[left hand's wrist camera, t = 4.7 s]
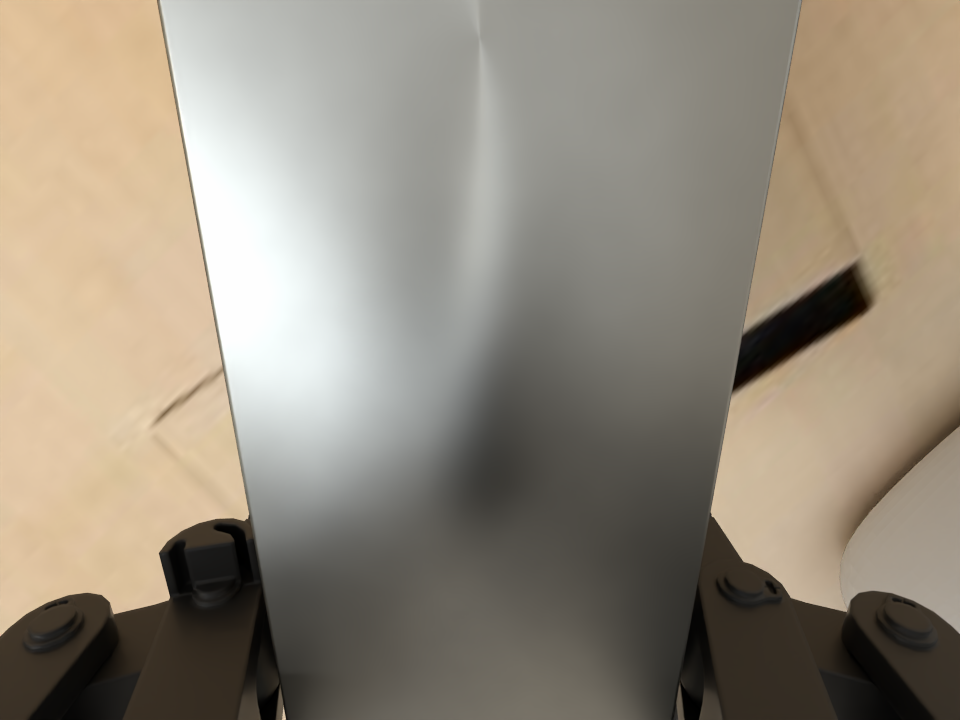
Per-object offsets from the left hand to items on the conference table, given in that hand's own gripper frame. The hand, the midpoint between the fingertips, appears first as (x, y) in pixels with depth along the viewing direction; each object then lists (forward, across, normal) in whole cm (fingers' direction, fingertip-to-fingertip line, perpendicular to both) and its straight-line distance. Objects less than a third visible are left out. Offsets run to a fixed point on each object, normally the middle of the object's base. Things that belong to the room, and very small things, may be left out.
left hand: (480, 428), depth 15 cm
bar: (+1, 0, -8) cm, 8 cm away
